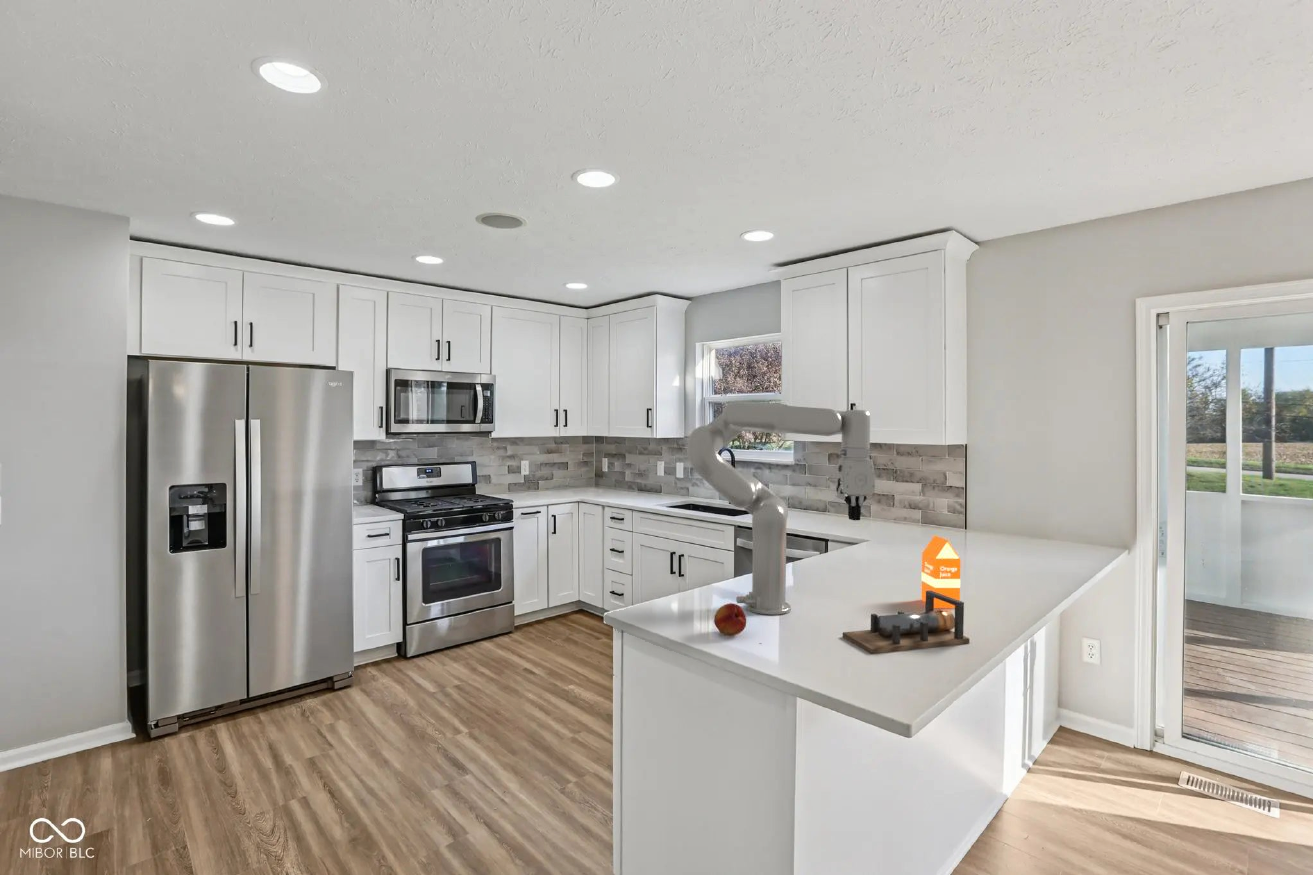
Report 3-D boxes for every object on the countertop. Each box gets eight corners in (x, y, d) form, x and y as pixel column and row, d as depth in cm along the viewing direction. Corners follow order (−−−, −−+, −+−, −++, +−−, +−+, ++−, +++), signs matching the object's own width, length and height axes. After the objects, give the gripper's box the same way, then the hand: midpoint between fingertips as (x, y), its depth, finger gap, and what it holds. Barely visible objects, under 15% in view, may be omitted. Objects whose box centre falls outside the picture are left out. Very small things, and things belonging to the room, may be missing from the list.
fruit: (720, 641, 155) (721, 609, 155) (709, 631, 163) (709, 600, 163) (750, 638, 157) (750, 607, 157) (737, 628, 165) (738, 598, 165)
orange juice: (945, 599, 195) (946, 535, 195) (960, 607, 186) (961, 540, 186) (920, 599, 195) (921, 535, 194) (934, 607, 186) (935, 540, 186)
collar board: (871, 653, 148) (872, 610, 148) (842, 637, 159) (843, 596, 159) (969, 643, 156) (970, 602, 156) (934, 628, 167) (935, 589, 167)
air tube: (887, 640, 154) (888, 619, 154) (874, 631, 159) (876, 612, 159) (954, 633, 160) (956, 613, 160) (940, 625, 165) (942, 606, 164)
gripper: (839, 455, 171) (838, 522, 171) (886, 454, 175) (885, 520, 175) (824, 453, 178) (823, 518, 178) (870, 453, 182) (869, 517, 183)
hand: (854, 519), depth 177 cm, fingers closed
